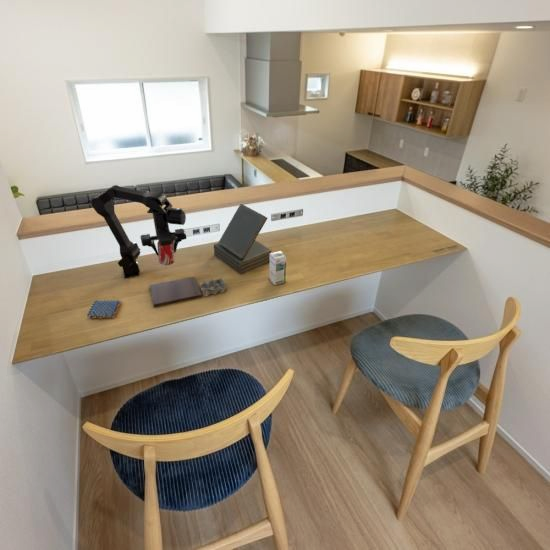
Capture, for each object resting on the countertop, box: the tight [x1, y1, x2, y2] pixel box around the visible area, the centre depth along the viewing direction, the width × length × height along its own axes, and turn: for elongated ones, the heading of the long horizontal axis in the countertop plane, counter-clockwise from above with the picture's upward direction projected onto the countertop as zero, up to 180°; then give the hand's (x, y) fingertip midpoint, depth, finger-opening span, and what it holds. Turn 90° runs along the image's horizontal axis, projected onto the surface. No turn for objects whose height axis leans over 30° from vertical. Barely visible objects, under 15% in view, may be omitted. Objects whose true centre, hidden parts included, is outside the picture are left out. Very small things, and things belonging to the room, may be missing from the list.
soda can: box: [156, 240, 176, 266], centre depth 162 cm, size 7×7×12 cm
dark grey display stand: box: [213, 203, 272, 275], centre depth 180 cm, size 23×20×25 cm
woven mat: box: [86, 299, 121, 320], centre depth 149 cm, size 10×11×2 cm
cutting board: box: [149, 276, 202, 308], centre depth 160 cm, size 20×15×2 cm
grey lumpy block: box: [199, 277, 227, 297], centre depth 162 cm, size 11×8×4 cm
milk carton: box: [269, 250, 287, 286], centre depth 166 cm, size 6×6×14 cm
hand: (166, 253), depth 163 cm, fingers closed on soda can, 7 cm apart
